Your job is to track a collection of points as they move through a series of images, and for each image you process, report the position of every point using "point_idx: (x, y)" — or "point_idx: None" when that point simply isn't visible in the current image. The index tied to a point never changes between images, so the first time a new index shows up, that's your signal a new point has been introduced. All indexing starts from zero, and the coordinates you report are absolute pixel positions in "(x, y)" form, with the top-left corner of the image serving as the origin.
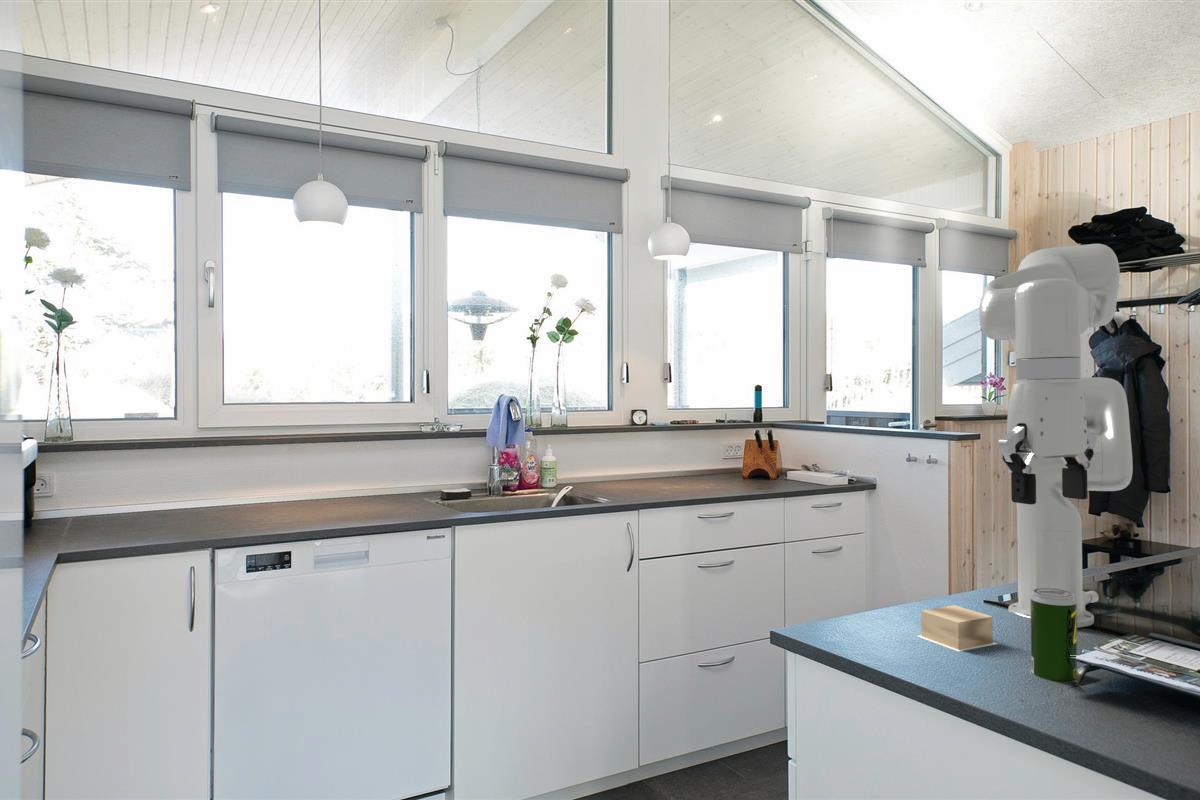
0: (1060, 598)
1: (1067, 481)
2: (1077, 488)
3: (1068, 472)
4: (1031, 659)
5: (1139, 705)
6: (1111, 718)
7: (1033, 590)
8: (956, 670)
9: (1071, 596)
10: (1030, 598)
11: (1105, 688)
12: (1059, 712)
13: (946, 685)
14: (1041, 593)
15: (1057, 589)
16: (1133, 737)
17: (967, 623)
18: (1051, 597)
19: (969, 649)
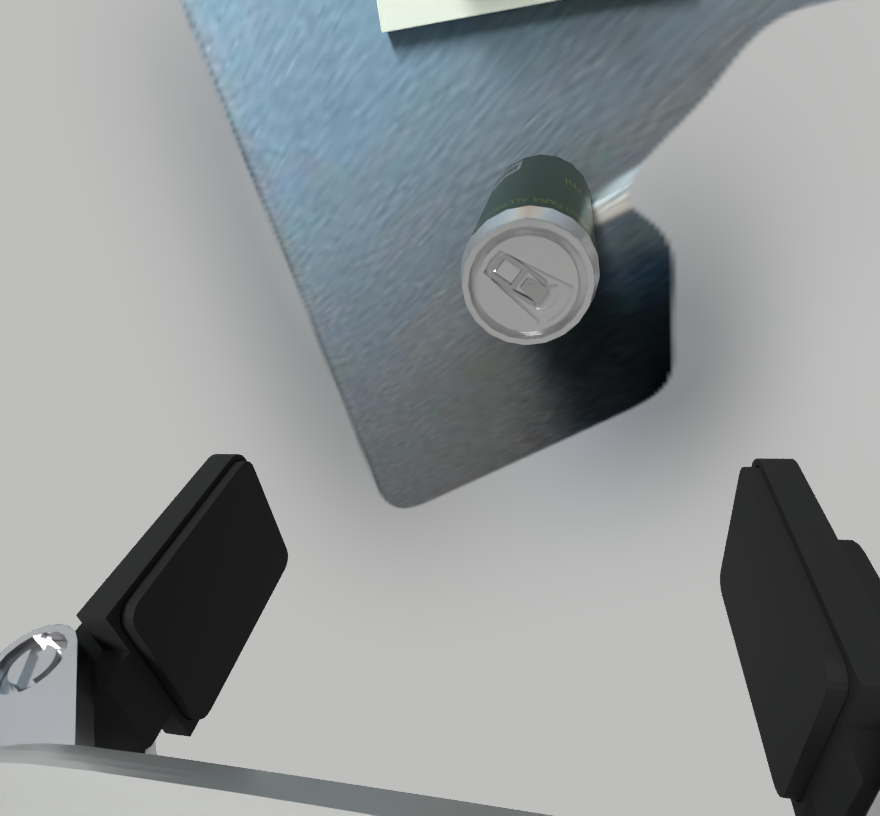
0: (496, 334)
1: (769, 601)
2: (740, 616)
3: (803, 693)
4: (497, 184)
5: (583, 356)
6: (479, 374)
7: (487, 239)
8: (368, 42)
9: (537, 342)
10: (477, 230)
11: (612, 273)
12: (414, 326)
13: (286, 133)
14: (480, 278)
15: (583, 258)
16: (448, 426)
17: None
18: (476, 319)
19: None
